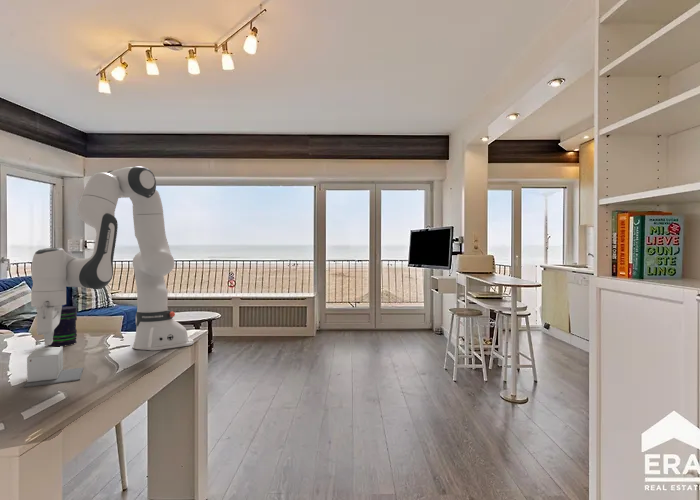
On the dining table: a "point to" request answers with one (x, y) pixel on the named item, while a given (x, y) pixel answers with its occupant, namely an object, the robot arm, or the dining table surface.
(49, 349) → the supplement box
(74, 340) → the storage jar
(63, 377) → the mat
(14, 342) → the dining table surface
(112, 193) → the robot arm
